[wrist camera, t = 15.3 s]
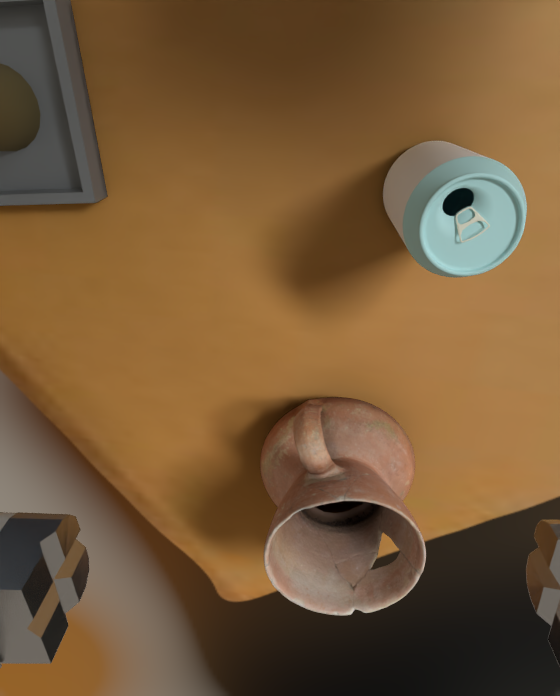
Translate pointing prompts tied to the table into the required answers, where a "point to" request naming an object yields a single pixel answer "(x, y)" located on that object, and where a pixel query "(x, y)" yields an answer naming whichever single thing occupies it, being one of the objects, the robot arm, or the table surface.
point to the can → (454, 208)
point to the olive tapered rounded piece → (17, 111)
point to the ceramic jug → (340, 506)
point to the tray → (50, 108)
